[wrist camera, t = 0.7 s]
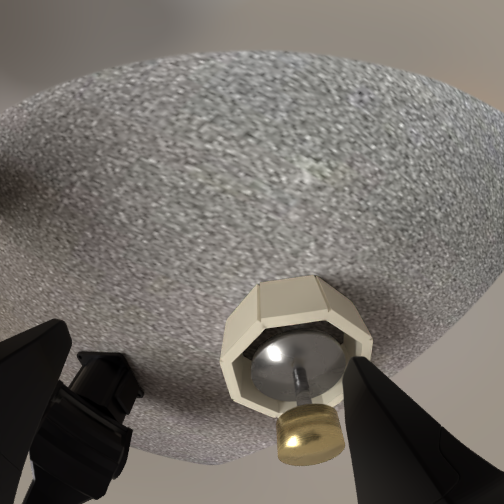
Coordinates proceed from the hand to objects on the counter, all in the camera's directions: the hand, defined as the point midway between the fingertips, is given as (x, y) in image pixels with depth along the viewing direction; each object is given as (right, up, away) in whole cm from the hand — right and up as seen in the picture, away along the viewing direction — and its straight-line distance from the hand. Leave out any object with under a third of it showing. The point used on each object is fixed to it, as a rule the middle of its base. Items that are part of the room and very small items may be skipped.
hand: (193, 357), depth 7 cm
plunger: (+5, -5, +12) cm, 14 cm away
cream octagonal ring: (+5, -5, +16) cm, 18 cm away
